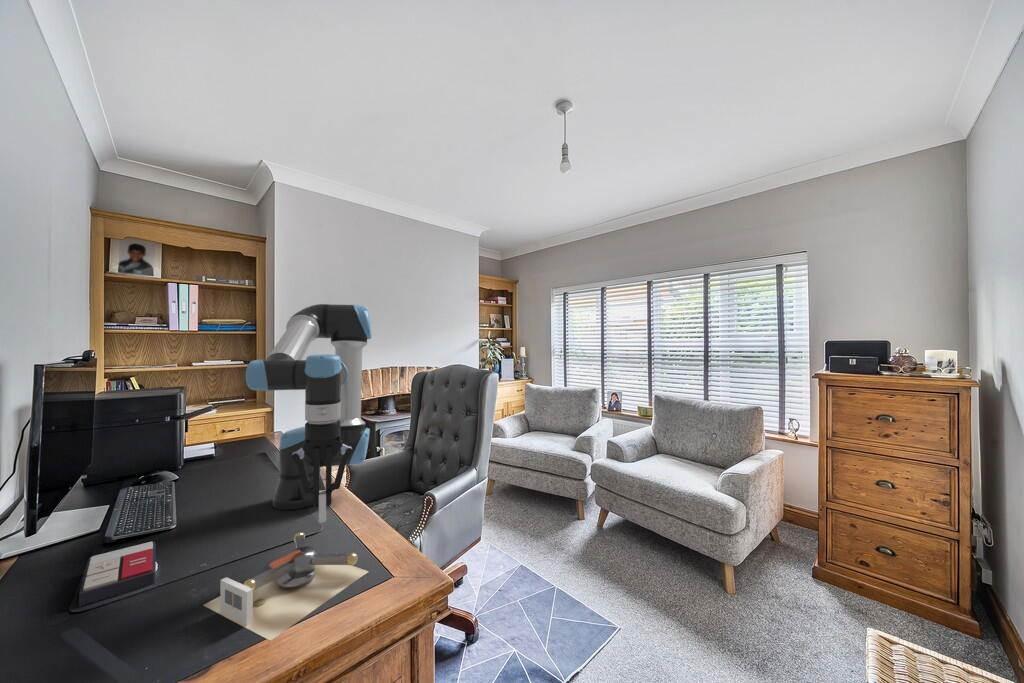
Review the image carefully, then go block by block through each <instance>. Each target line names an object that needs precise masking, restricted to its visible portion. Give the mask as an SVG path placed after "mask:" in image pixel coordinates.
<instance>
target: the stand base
mask: <svg viewBox="0 0 1024 683" xmlns="http://www.w3.org/2000/svg"><path fill="white" fill-rule="evenodd" d="M369 572H370V571H368V570H366V569H362V568H360V567H357V566H354V565H351V566H350V565H315V577H314V578H313V579H312V580H311V581H310V582H309V583H307V584H305V585H303V586H301V587H298V588H293V589H282V588H280V587H278V585H277V579H275V580H273V581H271V582H269V583H267V584H265V585H263V586H262V587H260V588H258V589H256V590H254V591H253V622H252V623H251V624H249V625H248V626H246V625H244V624H242V623H240V622H238V621H236V620H234V619H232V618H230V617H228V616H226V615H225V614H223V613H221V612H220V596H217V597H216V598H214V599H212V600H210V601H208V602H207V603H205V604H203V607H205V608H207V609H209V610H211V611H213V612H214V613H216V614H219V615H220V616H222V617H225V618H226V619H228V620H230V621H231V622H234V623H236V624H238V625H240V626H241V627H243V628H245V629H247V630H249V631H250V632H252V633H255V634H257V635H259V636H260V637H263V638H264V639H266V640H268V641H270V642H271V641H272V640H274V639H275V638H277V637H278V636H279V635H282V633H284V632H286V630H288V629H289V628H291V627H292V626H294V625H296V624H297V623H298V622H299V621H301V620H302V619H304V618H305V617H306V616H308V615H309V614H311V613H312V612H313V611H315V610H317V609H318V608H319V607H321V606H322V605H324V604H325V603H327V602H328V601H329V600H331V599H332V598H334V597H335V596H337V595H338V594H339V593H341V592H342V591H344V590H346V588H348V587H349V586H351V585H352V584H353V583H355V582H356V581H358V580H359V579H360V578H362V577H364V575H366V574H368V573H369Z"/></svg>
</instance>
